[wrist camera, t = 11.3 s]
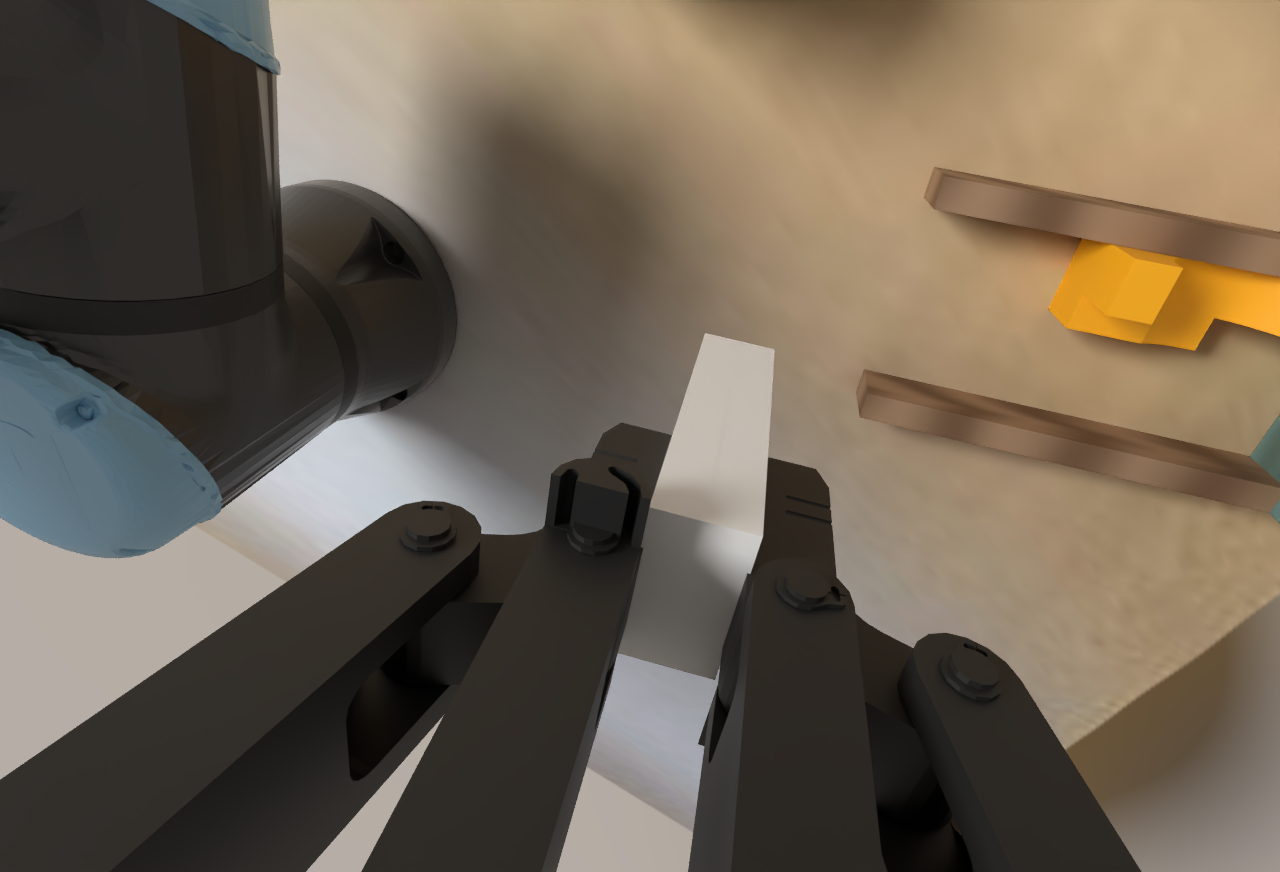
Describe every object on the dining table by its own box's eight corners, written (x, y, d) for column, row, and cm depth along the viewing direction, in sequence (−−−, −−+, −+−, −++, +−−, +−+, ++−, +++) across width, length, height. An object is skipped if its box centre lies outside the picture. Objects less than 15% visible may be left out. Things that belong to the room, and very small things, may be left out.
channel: (856, 391, 42) (861, 434, 37) (934, 167, 35) (953, 183, 30) (1272, 487, 39) (1336, 546, 34) (1439, 262, 32) (1549, 296, 27)
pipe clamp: (1047, 308, 37) (1087, 350, 32) (1085, 228, 35) (1135, 258, 30) (1284, 357, 36) (1370, 411, 30) (1339, 277, 34) (1443, 319, 28)
